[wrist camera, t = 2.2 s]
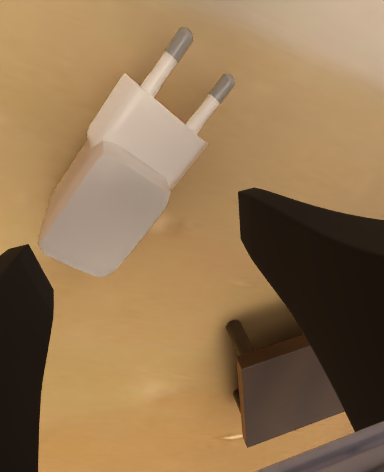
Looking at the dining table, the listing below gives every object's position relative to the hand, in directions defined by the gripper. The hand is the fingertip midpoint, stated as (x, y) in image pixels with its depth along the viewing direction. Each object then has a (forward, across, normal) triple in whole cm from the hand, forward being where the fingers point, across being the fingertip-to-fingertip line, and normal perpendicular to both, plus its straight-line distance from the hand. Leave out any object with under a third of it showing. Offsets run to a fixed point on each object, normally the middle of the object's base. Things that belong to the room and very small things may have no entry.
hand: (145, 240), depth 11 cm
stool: (+9, -11, +23) cm, 27 cm away
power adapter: (+9, 0, -1) cm, 9 cm away
